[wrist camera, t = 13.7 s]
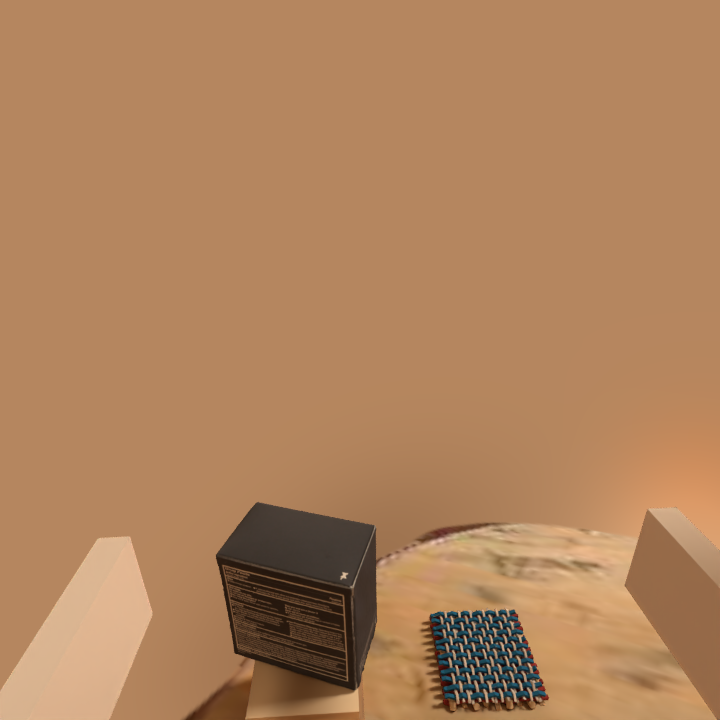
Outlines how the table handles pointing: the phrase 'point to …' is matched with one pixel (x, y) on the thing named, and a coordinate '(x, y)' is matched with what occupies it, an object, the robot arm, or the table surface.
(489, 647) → the woven mat
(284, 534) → the small box
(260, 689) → the tower top
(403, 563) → the table surface
